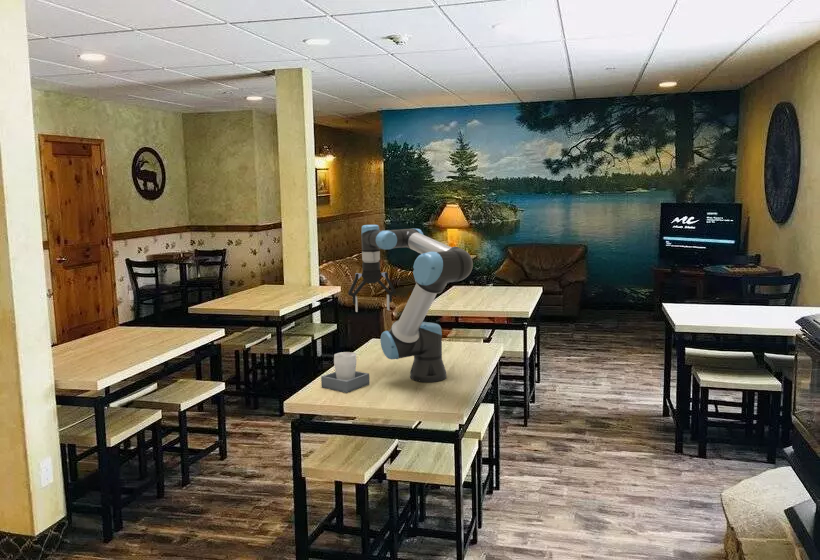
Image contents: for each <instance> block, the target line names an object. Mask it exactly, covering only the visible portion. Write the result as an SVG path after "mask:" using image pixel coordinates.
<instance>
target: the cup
mask: <svg viewBox="0 0 820 560" xmlns="http://www.w3.org/2000/svg"><path fill="white" fill-rule="evenodd" d="M333 364H334V372H336V377H337V379H339V380H344V381H348V380H350V379H353V378H355V371H357V354H356V352H352V351H351V352H350V351H343V352H342V351H341V352H337V353H334V354H333Z"/></svg>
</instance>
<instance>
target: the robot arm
mask: <svg viewBox="0 0 820 560" xmlns="http://www.w3.org/2000/svg"><path fill="white" fill-rule="evenodd" d="M360 238H361V255H362V257H361V259H362V264H361V266H362V269H361V270H362V272H361V273H358V272H356V273H355V274H354V280H353V281H352V284H351V286H350V288H349V290H348V292H347V295H348V296H351V298H352V304H353V305H354V306H355V312H356V313H358V312H359V311H358V310H359V309H358V304H359V303H358V293H359V292H360V291H361V290H362V289H363V287H364V286H365V285H366V284H376V283H378V284H379V285H380V286H381V287H382V288H383V290H385V292H386V293H387V294H386V310H387V311H390V307H391V306H390V303H392V302H393V295H394V294H396V293H397V291H396V289H395V288H394V285H393V284H392V281H391V280H390V278H389V273H388V272H387V271H384V272H381V262H380V261H381V251H380V250H392V249H398V248H408V249H410V250H412V251H415V252H417V253H418V254H419V255H418V256H417V257H416V259H415V260H414V263H413V267H412V268H413V271H412V273H413V274H412V275H413V278H414V281H415V286H414V287H413V290H412V292H411V295H410V296H409V298H408V299H407V302H406V304H405V306H404V308H403V311H402V312H401V314H400V317H399V319H398V320H396V321H394V322H393V324H392V325H391V327H390V329H389V330H385V331H383V332H382V333H381V335H380V340H379V341H380V346H381V350H382V353H383V354H384V356H385V357H386V358H387V359H389V360H399V359H405V358H410V357H413V361H412V364H411V368H410V372H409V373H410V374H409V378H410V379H411V380H412V381H415V382H420V383H434V382H435V383H436V382H441V381H443V380H445V379H447V371H446V366H445V364H444V361H443V342H442V340H443V333H442V327H441V325H440V324H439V323H435V322H430V321H429V322H427V321H424V320H425V317H427V314H428V312H429V310H430V308H431V307H432V304H433V302H434V301H435V299H436V296H437V294H440V293H442V292H443V291H444V289H445V288H446V286H447V284H448V283H454V282H460V281H463V280H465V279H467V277H469V276H470V275H471V273H472V270H473V267H474V262H473V261H474V260H473V258H472V256H471V255H470V253H469V252H468V251H466V249H463V248H460V247H458V246H450V245H447V244H445V243H443V242H440V241H438V240H436V239H433V238H432V237H429V236H427V235H424V232H423V231H422V229H420V228H403V229H402V228H401V229H391V230H390V229H386V230H384V229H382V230H380V226H379V225H378V224H364V225H361V234H360ZM381 277H383V278H385V281H386V283H387V284H388V286H389V288H390V289H389V288H388V287H387V286H386V285H385V284H384V283H383V282H382V281H381V280H380V278H381ZM360 278H362V279H363V280H362V281H361V282H360V284H359V285H358V286H357V287H356V285H357V283H358V280H359V279H360ZM355 288H356V289H355Z"/></svg>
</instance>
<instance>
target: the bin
mask: <svg viewBox="0 0 820 560" xmlns="http://www.w3.org/2000/svg"><path fill="white" fill-rule="evenodd" d="M320 381H321V383H320V384H321V385H320V386H321V388H323V389H328V390H332V391H337V392H340V393H346V394H348V393H351V392H354V391H355V390H359V389H362V388H364V387H366V386H369V385H370V373H367V372H362V371H357V370H356V371H355V378H353V379H350V380H348V381H344V380H339V379H337V377H336V371H334V372H331V373H327V374H325V375H321V376H320Z"/></svg>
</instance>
